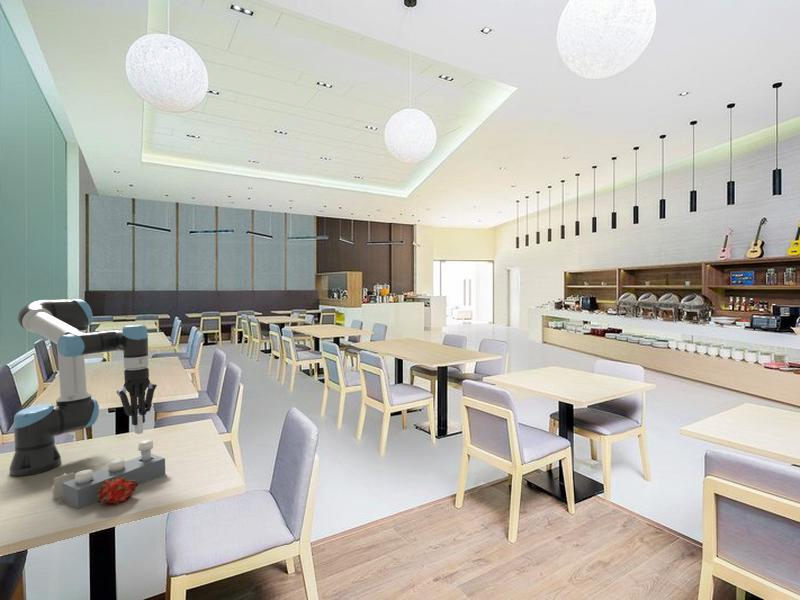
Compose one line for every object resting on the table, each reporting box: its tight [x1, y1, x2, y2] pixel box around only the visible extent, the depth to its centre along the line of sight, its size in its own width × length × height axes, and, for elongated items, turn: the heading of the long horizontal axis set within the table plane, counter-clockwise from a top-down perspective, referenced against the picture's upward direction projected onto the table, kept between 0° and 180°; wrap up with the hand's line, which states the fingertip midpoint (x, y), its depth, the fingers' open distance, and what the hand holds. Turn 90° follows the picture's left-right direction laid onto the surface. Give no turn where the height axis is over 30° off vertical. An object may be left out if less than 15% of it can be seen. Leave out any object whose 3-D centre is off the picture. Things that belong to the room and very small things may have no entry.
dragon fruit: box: [96, 477, 139, 505], centre depth 138 cm, size 8×8×12 cm
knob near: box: [74, 469, 94, 485], centre depth 140 cm, size 5×5×8 cm
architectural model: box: [51, 471, 75, 500], centre depth 144 cm, size 3×7×7 cm, turn 142°
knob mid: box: [108, 458, 126, 473], centre depth 148 cm, size 5×5×8 cm
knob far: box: [137, 439, 154, 462], centre depth 157 cm, size 5×5×8 cm
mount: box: [62, 453, 166, 509], centre depth 148 cm, size 10×28×6 cm, turn 150°
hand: (138, 432), depth 154 cm, fingers closed
